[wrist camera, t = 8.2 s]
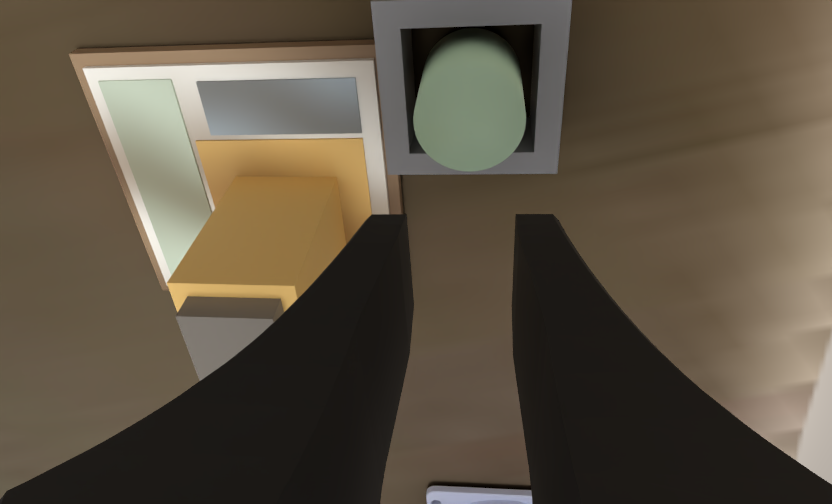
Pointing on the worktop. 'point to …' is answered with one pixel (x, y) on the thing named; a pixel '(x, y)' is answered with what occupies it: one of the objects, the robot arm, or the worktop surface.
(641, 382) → the robot arm
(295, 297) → the block
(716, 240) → the worktop surface
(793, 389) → the worktop surface
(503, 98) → the button
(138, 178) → the compartment tray
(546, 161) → the button housing
